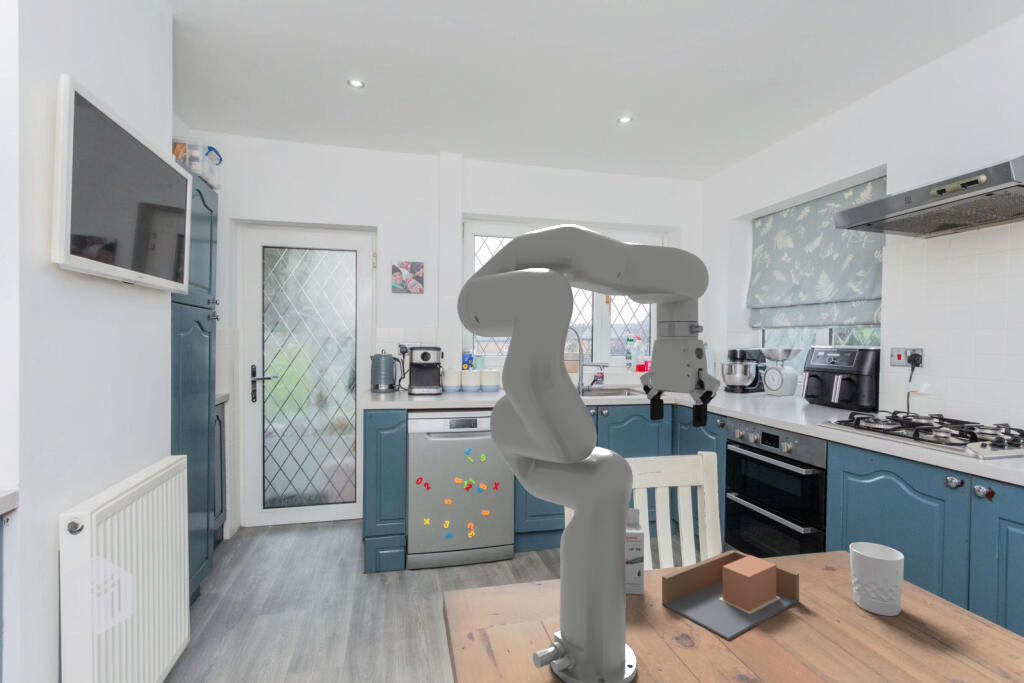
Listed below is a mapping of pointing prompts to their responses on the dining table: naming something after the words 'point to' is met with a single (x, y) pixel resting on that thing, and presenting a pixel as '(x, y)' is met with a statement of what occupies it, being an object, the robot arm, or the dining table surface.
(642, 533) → the ink box
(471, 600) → the dining table surface
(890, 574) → the white cup
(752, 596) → the rust block
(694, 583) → the arena
